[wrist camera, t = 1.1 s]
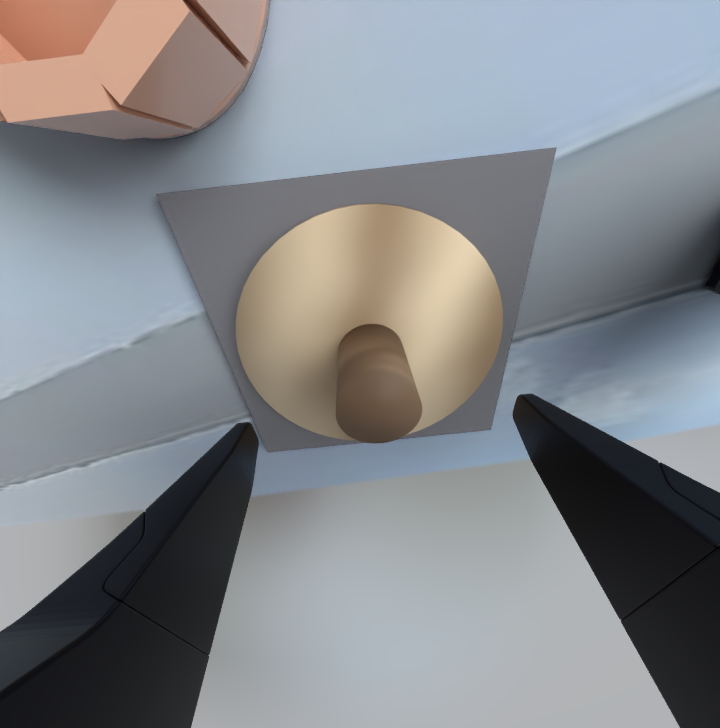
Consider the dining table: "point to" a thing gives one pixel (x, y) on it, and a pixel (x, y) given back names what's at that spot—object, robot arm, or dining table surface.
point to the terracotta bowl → (126, 63)
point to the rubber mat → (382, 185)
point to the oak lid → (369, 322)
